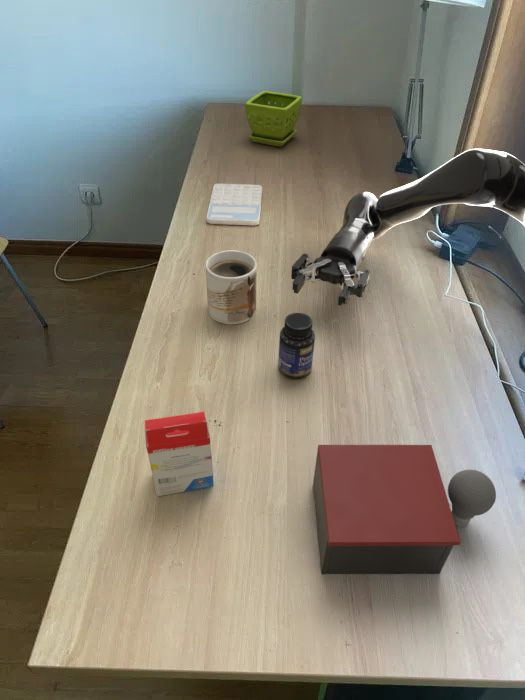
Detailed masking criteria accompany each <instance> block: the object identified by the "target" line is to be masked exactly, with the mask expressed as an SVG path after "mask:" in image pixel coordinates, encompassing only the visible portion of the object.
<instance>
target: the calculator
mask: <svg viewBox="0 0 525 700" xmlns="http://www.w3.org/2000/svg"><path fill="white" fill-rule="evenodd" d="M262 198H263V186H262V185H260V184H246V183H214V184H213V187H212V191H211V195H210V200H209V204H208V209H207V213H206V218H205V219H206V223H207V224H209V225H230V226H258V225H259V224H260V221H261V210H262V200H263V199H262Z"/></svg>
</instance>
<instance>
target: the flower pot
mask: <svg viewBox="0 0 525 700" xmlns="http://www.w3.org/2000/svg"><path fill="white" fill-rule="evenodd" d="M302 100H303V98H302V96H300V95H295V94H290V93H283V92H275V91H268V90H263V91H260V92H259V93H257V94H256V95H254V96H252V97H251V98H250V99H248V101H246V102H245V103H244V105H245V106H244V107H245V115H246V120H247V123H248V126H249V128H250V130H251V133H250V134H249V136H248V138H249V139H250V140H251V141H252V142H253V143H258V144H263V145H268V146H273V147H279V148H280V147H283V146H284V145H285V144H286V143H288V142H289V141H290V140H291V139H292V138H293V137H294V136H295V135H296V134H297V132H298V130H297V129H295V126H296V124H297V122H298V118H299V116H300V112H301V107H302Z"/></svg>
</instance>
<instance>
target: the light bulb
mask: <svg viewBox="0 0 525 700" xmlns="http://www.w3.org/2000/svg"><path fill="white" fill-rule="evenodd" d="M447 497H448V500H449V501H450V503H451V512H452V515H453V519H454V522H455V525H456V527H458V528H465V527H467V526H468V525H469V524H470V522H471V520H472V519H473V518H475V517H476V516H483V515H484V514H486V513H488V512H489V511H490V510H491V509H492V508H493V506H494V505H495V503H496V499H497V491H496V488H495V484H494V483H493V481H492V480H491V478H490V477H489V476H488V475H486V474H485V473H484V472H482V471H479V470H476V469H472V468H471V469H470V468H469V469H462V470H460V471H458V472H457V473H455V474H454V475H453V476H452V477H451V479H450V480H449V482H448V486H447Z"/></svg>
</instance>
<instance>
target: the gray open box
mask: <svg viewBox="0 0 525 700" xmlns="http://www.w3.org/2000/svg"><path fill="white" fill-rule="evenodd" d="M312 494H313V502H314V503H313V504H314V513H315V525H316V535H317V546H318V547H317V548H318V556H319V566H320V574H321V575H440V574H441V573H442V570H443V568H444V566H445V564H446V562H447V560H448V558H449V556H450V554H451V551H452V550H453V547H454V546H328V537H327V528H326V519H325V510H324V500H323V491H322V482H321V473H320V464H319V455H318V450H317V452H316V459H315V466H314V474H313V480H312Z"/></svg>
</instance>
